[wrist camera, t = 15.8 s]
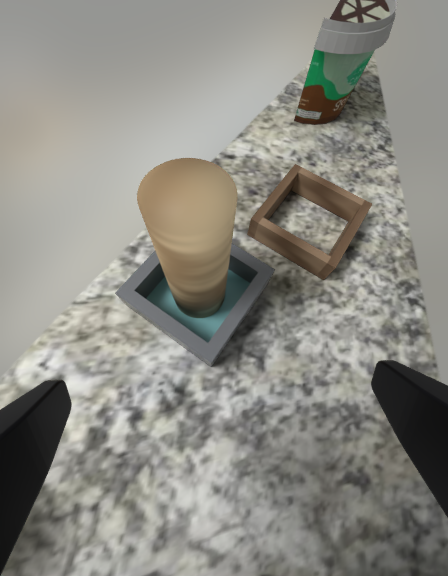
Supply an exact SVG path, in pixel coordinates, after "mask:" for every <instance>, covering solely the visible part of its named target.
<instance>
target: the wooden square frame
mask: <svg viewBox="0 0 448 576" xmlns="http://www.w3.org/2000/svg"><path fill="white" fill-rule="evenodd" d="M290 191H293V192H295V193H297V194H299V195H301V196H302V197H304V198H306V199H308V200H310V201H312V202H314V203H315V204H317V205H319V206H321V207H323V208H325V209H327V210H328V211H330V212H332V213H334V214H336V215H338V216H339V217H341V218H343V219H345V220H347V221H349V222H348V223H347V225H346V227H345V228H344V230H343V232H342V233H341V235H340V237H339V238H338V240H337V242H336V243H335V245H334V247H333V248H332V250H331V252H330V253H329V255H327V254H326V253H324V252H322V251H320V250H319V249H317V248H315V247H314V246H312V245H310V244H308V243H307V242H305V241H303V240H301V239H300V238H298V237H296V236H294V235H293V234H291V233H289V232H287V231H286V230H284V229H282V228H281V227H279V226H277V225H275V224H274V223H272V222H270V221H268V220H269V218H270V217H271V216H272V215H273V213H274V212H275V211H276V209H277V208H278V207H279V205H280V204H281V203H282V202H283V200H284V199H285V198H286V196H287V195H288V194H289V192H290ZM371 206H372V204H371V203H369V202H367V201H366V200H364V199H362V198H360V197H358V196H356V195H354V194H352V193H350V192H348V191H346V190H344V189H342V188H340V187H339V186H337V185H335V184H333V183H331V182H329V181H327V180H325V179H323V178H321V177H319V176H317V175H315V174H313V173H312V172H310V171H308V170H306V169H304V168H302V167H300V166H298V165H296V164H295V165H294V166H293V167H292V169H291V170H290V171H289V172H288V174H287V175H286V176H285V177H284V179H283V180H282V181H281V182H280V183H279V185H278V186H277V187H276V188H275V190H274V191H273V192H272V193H271V195H270V196H269V197H268V198H267V200H266V201H265V202H264V203H263V205H262V206H261V207H260V208H259V210H258V211H257V212H256V213H255V215H254V216H253V217H252V218H251V221H250V225H249V230H248V234H247V235H249V236H251V237H252V238H254V239H256V240H257V241H259V242H261V243H262V244H264V245H266V246H267V247H269V248H271V249H272V250H274V251H276V252H277V253H279V254H281V255H282V256H284V257H286V258H287V259H289V260H291V261H292V262H294V263H296V264H297V265H299V266H301V267H303V268H304V269H306V270H308V271H309V272H311V273H313V274H314V275H316V276H318V277H319V278H321V279H323V280H324V279H325V278H326V277H327V276H328V275H329V274H330V273H331V272H332V271H333V270H334V269H335V268H336V267H337V265H338V263H339V261H340V260H341V258H342V256H343V254H344V253H345V251H346V249H347V248H348V246H349V244H350V242H351V241H352V239H353V237H354V235H355V234H356V232H357V230H358V228H359V227H360V225H361V223H362V221H363V220H364V218H365V216H366V214H367V213H368V211H369V209H370V207H371Z"/></svg>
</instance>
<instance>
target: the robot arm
mask: <svg viewBox="0 0 448 576" xmlns="http://www.w3.org/2000/svg"><path fill="white" fill-rule="evenodd" d="M371 385H372V389H373V392H374V394H375V396H376V398H377V399H378V401H379V403H380V405H381V407H382V409H383V411H384V413H385V415H386V417H387V419H388V421H389V423H390V424H391V426H392V428H393V430H394V432H395V434H396V436H397V438H398V439H399V441H400V443H401V445H402V446H403V448H404V449H405V451H406V453H407V454H408V456H409V457H410V459H411V461H412V462H413V464H414V465H415V467H416V468H417V470H418V472H419V473H420V475H421V476H422V478H423V479H424V481H425V483H426V484H427V486H428V487H429V489H430V490H431V492H432V494H433V495H434V497H435V498H436V500H437V501H438V503H439V505H440V506H441V508H442V509H443V511H444V512H445V514H446V516H447V517H448V386H447V385H445V384H443V383H441V382H439V381H437V380H435V379H432V378H430V377H428V376H426V375H424V374H422V373H420V372H418V371H415V370H413V369H411V368H409V367H407V366H405V365H403V364H400V363H398V362H396V361H394V360H383V361H379V362H378V363H377V364H376V367H375V371H374V374H373V378H372V382H371ZM70 411H71V399H70V396H69V393H68V390H67V386H66V384H65V382H64V381H63V380H48V381H45V382H43V383H41V384H40V385H38V386H37V387H35V388H34V389H32V390H31V391H29V392H27V393H26V394H24V395H23V396H21V397H20V398H18V399H16V400H15V401H13V402H12V403H10V404H9V405H7V406H5V407H4V408H2V409H1V410H0V576H1V574H2V571H3V569H4V567H5V565H6V563H7V561H8V558H9V556H10V554H11V552H12V550H13V548H14V546H15V543H16V541H17V539H18V537H19V535H20V533H21V530H22V528H23V526H24V524H25V522H26V520H27V517H28V515H29V513H30V511H31V509H32V507H33V505H34V502H35V500H36V498H37V496H38V494H39V492H40V489H41V487H42V485H43V483H44V481H45V478H46V476H47V474H48V472H49V469H50V467H51V464H52V461H53V459H54V456H55V453H56V450H57V448H58V445H59V442H60V439H61V436H62V433H63V431H64V428H65V425H66V422H67V419H68V417H69V414H70Z"/></svg>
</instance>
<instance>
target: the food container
mask: <svg viewBox="0 0 448 576" xmlns="http://www.w3.org/2000/svg"><path fill="white" fill-rule="evenodd" d="M396 6H397V1H396V0H340V2H339V3H338V5H337V7H336V9H335V11H334V12H333V14H332V16H331V17H330V19H327V18H324V20H323V23H322V26H321V29H320V31H319V34H318V37H317V41H316V44H315V47H314V49H315V50H314V54H313V57H312V61H311V64H310V67H309V71H308V74H307V78H306V81H305V85H304V88H303V91H302V95H301V98H300V102H299V105H298V109H297V112H296V116H295V119H294V121H296V122H299V123H303V124H312V125H317V124H325V123H328V122H330V121H333V120H335V119H336V118H337V117H338V116H339V115H340V113H341V111H342V109H343V108H344V106H345V104H346V102H347V100H348V98H349V97H350V95H351V93H352V91H353V89H354V87H355V85H356V84H357V82H358V80H359V78H360V76H361V74H362V73H363V71H364V69H365V67H366V65H367V63H368V62H369V60H370V58H371V56H372V54H373V52H374V51H375V49H377V48H379V47H381V46H382V45H383V44H384V43H385V42H386V41H387V39H388V37H389V34H390V31H391V28H392V25H393V21H394V19H395V10H396Z"/></svg>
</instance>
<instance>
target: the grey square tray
mask: <svg viewBox="0 0 448 576" xmlns="http://www.w3.org/2000/svg"><path fill="white" fill-rule="evenodd" d="M274 271H275V269H273V268H272V267H270V266H268V265H267V264H265V263H264V262H262V261H260V260H259V259H257V258H255V257H254V256H252V255H250V254H249V253H247V252H246V251H244V250H242V249H241V248H239V247H237V246H236V245H234V244H233V243H232V244H231V252H230V260H229V267H228V275H227V283H226V291H225V298H224V302H223V304H222V306H221V307H220V309H219V310H218V311H217V312H216V313H214V314H213V315H211V316H208V317H205V318H193V317H190V316H187V315H185V314H184V313H183V312H181V311H180V310H179V308H178V307H177V305H176V303H175V301H174V298H173V295H172V293H171V290H170V287H169V285H168V282H167V280H166V277H165V274H164V272H163V269H162V266H161V264H160V261H159V258H158V256H157V253H156V251H154V252H153V253H152V254H151V255H150V257H149V258H148V259H147V260H146V261H145V262H144V263H143V264H142V265H141V266H140V267H139V268H138V269H137V270H136V271H135V273H134V274H133V275H132V276H131V277H130V278H129V279H128V280H127V281H126V282H125V283H124V284H123V285H122V286H121V287H120V288H119V290H118V291H117V292H116V293H115V294H116V295H117V296H118V297H119V298H120V299H121V300H122V301H123V302H124V303H125V304H126V305H127V306H128V307H129V308H131V309H132V310H134V311H135V312H136V313H138V314H139V315H140V316H142V317H143V318H144V319H146V320H147V321H149V322H150V323H151V324H153V325H154V326H155V327H157V328H158V329H160V330H161V331H162V332H164V333H165V334H166V335H168V336H169V337H170V338H172V339H173V340H175V341H176V342H177V343H179V344H180V345H181V346H183V347H184V348H186V349H187V350H188V351H190V352H191V353H192V354H194V355H195V356H196V357H198V358H199V359H201V360H202V361H203V362H205V363H206V364H207V365H209V366H210V367H211V366H212V365H213V364H214V362H215V361H216V359H217V358H218V356H219V355H220V353H221V352H222V350H223V349H224V347H225V346H226V344H227V343H228V342H229V340H230V339H231V337H232V336H233V334H234V333H235V331H236V330H237V328H238V327H239V325H240V324H241V322H242V321H243V319H244V318H245V317H246V315H247V314H248V312H249V311H250V309H251V308H252V306H253V305H254V303H255V302H256V300H257V299H258V297H259V296H260V294H261V293H262V292H263V290H264V289H265V287H266V286H267V284H268V282H269V280H270V278H271V277H272V275H273V273H274Z"/></svg>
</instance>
